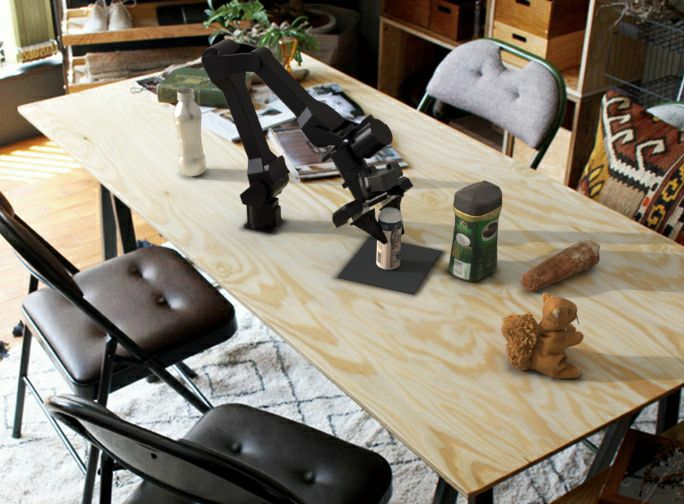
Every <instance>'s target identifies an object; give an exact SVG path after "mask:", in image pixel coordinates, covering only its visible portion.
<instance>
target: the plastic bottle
mask: <svg viewBox="0 0 684 504" xmlns="http://www.w3.org/2000/svg"><path fill="white" fill-rule="evenodd" d="M176 94H177V95H176V96H177V97H176V100H177V101H178V102H177V103H176V104H175V106H174V108H173V111H172V118H173V122H174V126H175V130H176V136H177V143H178V144H177V145H178V146H177V147H178V148H177V149H178V154H177V155H178V156H177V166H178V167H177V168H178V170H179V171H180V173H181V174H182V175H183V176H187V177H197V176H200V175H202V174H203V173H204V172H205V171H206V169H207V159H206V158H207V157H206V155H205V152H204V145H203V140H202V115H203V113H202V110H201V107H200V106H199V104H197V102H196V101H195V97H196V96H195V90H194V89H193V88H191V87H182V88H179V89H177V91H176Z"/></svg>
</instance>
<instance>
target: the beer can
mask: <svg viewBox="0 0 684 504" xmlns="http://www.w3.org/2000/svg"><path fill="white" fill-rule="evenodd" d="M377 221H378V223H379V225H380V227H381V229H382V230H383V232H384V234H385V236H386V238H387V241H388V243H387V244H385V245H384V244H382V243H381V242H379V241H378V240H377V261H376V264H377V265H378V266H379V267H380V268H382V269H385V270H392V269H395V268H397V267H398V266H399V265H400V252H401V242H402V236H401V234H402V221H403V215H402V212H401V213H400V211H399V210H398V209H395V208H384V209H382V210H381V211H379V213H378V215H377Z"/></svg>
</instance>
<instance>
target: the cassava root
mask: <svg viewBox="0 0 684 504" xmlns="http://www.w3.org/2000/svg"><path fill="white" fill-rule="evenodd" d="M600 249H601V245H600V244H599V243H597V242H595V241H594V240H592V239H588V240H586V239H585V240H579V241H578V242H576V243H574V244H571V245H570V246H568V247H566V248H564V249H563V250H561V251H560V252H558V253H556V254H554V255H552V256H551V257H549V258H547V259H546V260H543V261H542V262H540V263H539V264H537V265H536V266H533V268H531V269H529V270H528V271H526V272H524V273H523V274H522V276H521V279H520V283H521V286H522V288H523V289H524V291H527V292H529V293H532V292H535V291H538V290H540V289H542V288H545V287H547V286H551V285H552V284H555V283H557V282H560V281H561V280H564V279H566V278H569V277H570V276H572V275H575V274H577V273H578V274H579V273H580V272H583V271H586V270H588V269H591V268H593V267H594V266H596V265H598V264H599V262H600V259H601V257H600Z"/></svg>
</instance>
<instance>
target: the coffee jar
mask: <svg viewBox="0 0 684 504" xmlns="http://www.w3.org/2000/svg"><path fill="white" fill-rule="evenodd" d="M502 209H503V192H502V189H501V187H500V186H499V185H497V184H495V183H493V182H490V181H488V180H481V181H477V182H474V183H471V184H469V185H467V186H465V187H462V188H461V189H459V190H457V191H456V192H454V196H453V203H452V211H453V214H454V226H453V234H452V243H451V248H450V255H449V263H448V270H449V272H450V274H452V275H453V276H454V277H456V278H457V279H459V280H462V281H468V282H476V281H479V280H482V279H484V278H486V277H488V276H489V275H491V274H493V273H494V272H495V271H496V270H497V268H498V238H499V237H498V235H499V221H500V215H501V211H502Z"/></svg>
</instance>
